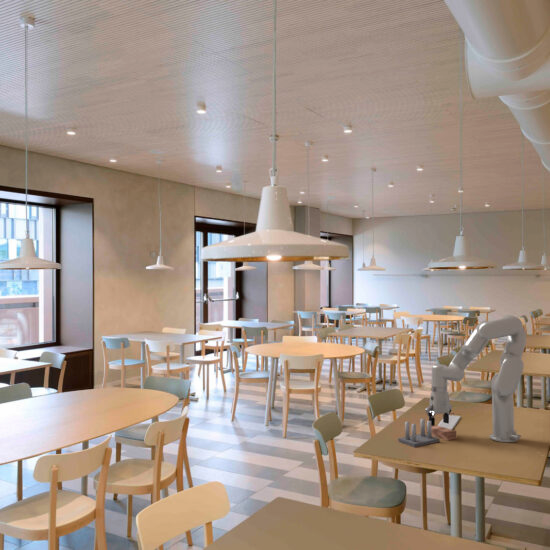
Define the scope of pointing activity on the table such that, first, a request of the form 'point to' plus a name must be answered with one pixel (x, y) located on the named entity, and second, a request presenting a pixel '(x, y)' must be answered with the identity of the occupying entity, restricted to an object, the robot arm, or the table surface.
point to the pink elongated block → (442, 432)
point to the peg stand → (418, 435)
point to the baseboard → (450, 422)
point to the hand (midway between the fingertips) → (438, 424)
